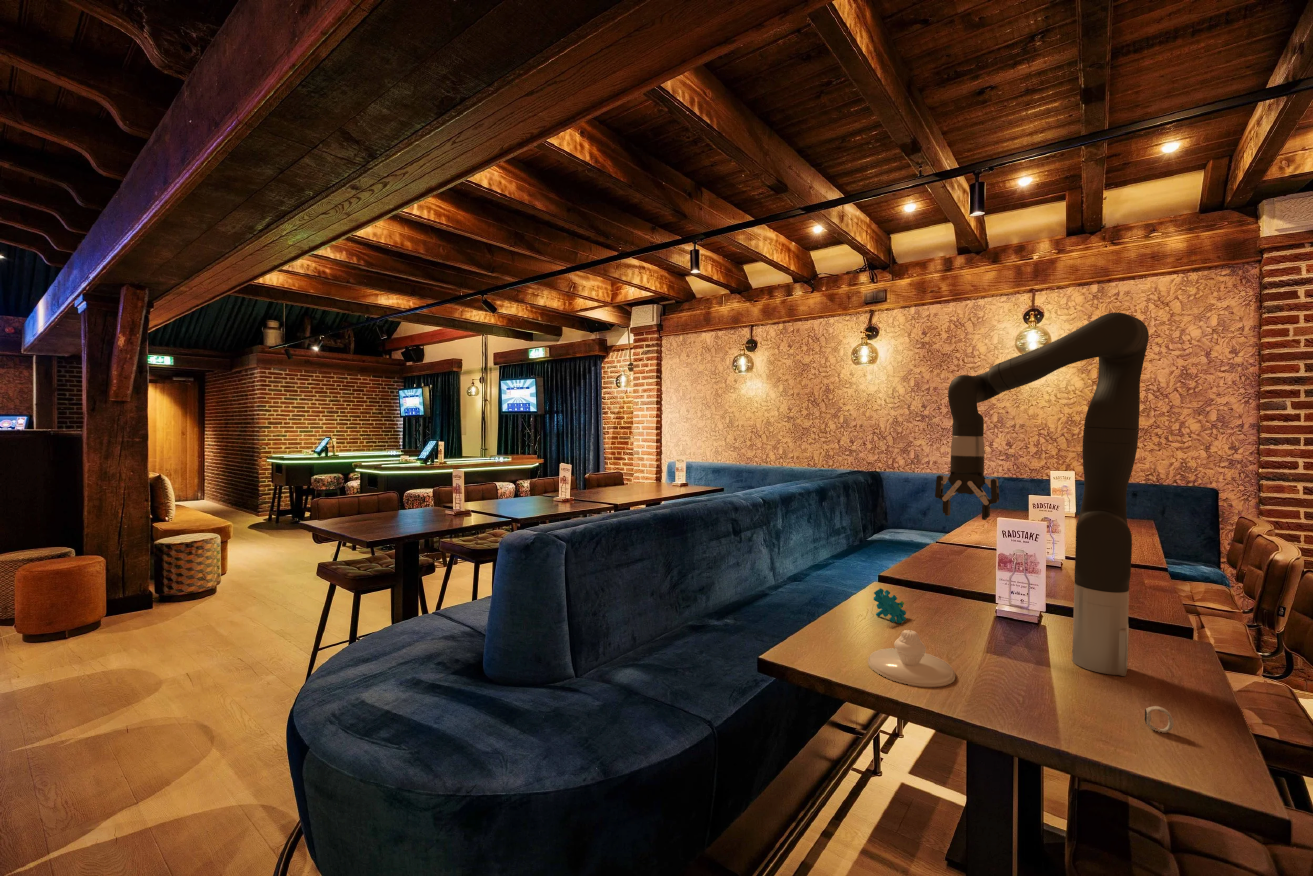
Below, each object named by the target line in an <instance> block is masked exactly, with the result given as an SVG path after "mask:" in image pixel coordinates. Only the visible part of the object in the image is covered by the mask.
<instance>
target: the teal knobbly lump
mask: <svg viewBox="0 0 1313 876" xmlns="http://www.w3.org/2000/svg"><path fill="white" fill-rule="evenodd" d="M873 594H874V596H873V601H874V602H877V604H876V607H877V609H878V612H876V613H875V615H876V617H877V616H879V617H880V616H882V615H883V617H884V618H886V617H888V616H889V615H890V616H891V617H889V621H890V622H891V623H895V622H896V623H897V624H898V623H901V624H902V623H903V622H904V621H906V620H907V617H906V615H907V611H906V610H904V609H902V608H904V605H905V602H904V601H902V600H901V601H900V602H897V600H898V597H897V596H896V595H895V594H894V595H892V596H890V594H891V592H890V591H889V590H888V589H886V590H885V589H883V588H882V587H879V588H878V589H877V590H875V591H874V592H873Z"/></svg>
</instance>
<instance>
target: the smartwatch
mask: <svg viewBox="0 0 1313 876" xmlns="http://www.w3.org/2000/svg"><path fill="white" fill-rule="evenodd" d="M1156 710H1157V711H1159V712H1161V713H1163V714H1165V715H1167V718H1168V719H1167V720H1168V722H1167V726H1165V728H1159V729H1160V730H1157V729H1155V728H1156V727H1155V726H1153V725H1152V724H1151V722H1152V721H1151V720H1152V714H1151V712H1152V711H1156ZM1144 722H1145V725H1146V726H1148V727H1149V729H1151V730H1153V731H1154V730H1155V731H1154V732H1156V731H1158V732H1157V733H1160V732H1162V733H1161V734H1164V733H1165V734H1167V733H1169V732H1170V731H1172V730H1173V728H1174V724H1175V723H1174V719H1173V716H1172V714H1171V713H1170V712H1169V711H1168V709H1166V708H1163V707H1162V706H1158V705H1154V706H1149V707H1147V708H1145V709H1144Z"/></svg>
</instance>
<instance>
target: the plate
mask: <svg viewBox="0 0 1313 876" xmlns="http://www.w3.org/2000/svg"><path fill="white" fill-rule="evenodd" d="M867 658H868V659H867V665H868V664H869V665H868V667H869V666H870V667H869V668H870V669H871V670H872V669H873V670H874V671H875V672H877V673H878V674H877V673H876V674H877V675H879V674H880V675H882V676H884V677H886V678H885V679H887V680H889V679H890V680H889V681H892V680H893V682H895V681H896V682H895V683H898V682H899V684H902V683H904V684H903V685H906V684H908V685H907V686H913V687H920V688H921V687H922V688H940V687H945V686H949V685H950V684H951V685H952V683H953V682H955V680H956V672H955V670H954V668H953V667H952V666H951V664H949V663H948V662H947V661H946V660H944V659H942V658H939V657H937V656H935V655H933V654H930V653H926V652H925V653H924V656H923V657H922V659H921V661H920V662H919V664H918V665H916V666H909V665H906V664H903V663H902V662H901V660H900V658H899V656H898V654H897V652H896V648H895V647H894V648H893V647H891V648H890V647H889V648H888V647H887V648H881V649H876V650H875V651H873V652H871V654H870V655H869V656H868V657H867ZM873 670H872V671H873ZM874 671H873V672H874ZM875 672H874V673H875ZM880 675H879V676H880ZM882 676H881V677H882ZM884 677H883V678H884Z"/></svg>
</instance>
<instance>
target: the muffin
mask: <svg viewBox="0 0 1313 876" xmlns="http://www.w3.org/2000/svg"><path fill="white" fill-rule="evenodd" d="M893 646H894V648H896V652H897V654H898V656H899V658H900V660H901V662H902V663H903V664H906V665H909V666H916V665H918V664H919V662H920V661H921V659H922V657H923V656H924V653H926V651H927V648H926V644H925V643H923V641H922V640H921V638H920V635H919V633H918V632H916V631H915V630H912V629H910V630H909V629H905V630H902V631H901V633H900V636H899V637H898V638H897V639H896V640H895V641H894V644H893Z"/></svg>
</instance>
